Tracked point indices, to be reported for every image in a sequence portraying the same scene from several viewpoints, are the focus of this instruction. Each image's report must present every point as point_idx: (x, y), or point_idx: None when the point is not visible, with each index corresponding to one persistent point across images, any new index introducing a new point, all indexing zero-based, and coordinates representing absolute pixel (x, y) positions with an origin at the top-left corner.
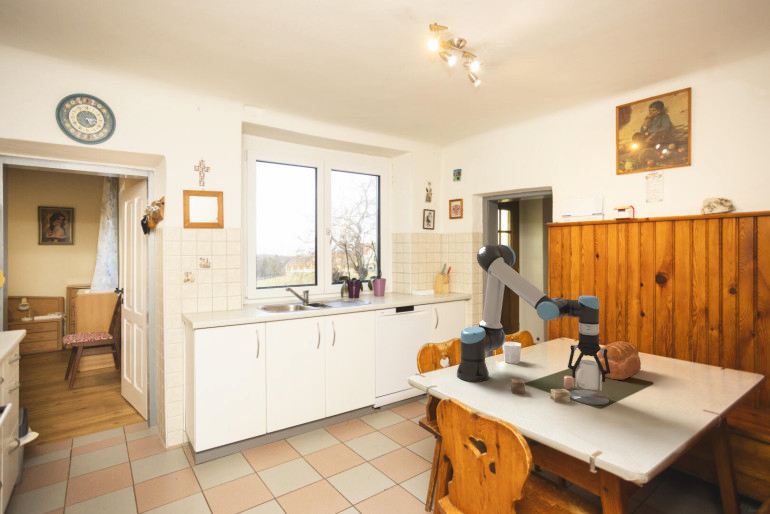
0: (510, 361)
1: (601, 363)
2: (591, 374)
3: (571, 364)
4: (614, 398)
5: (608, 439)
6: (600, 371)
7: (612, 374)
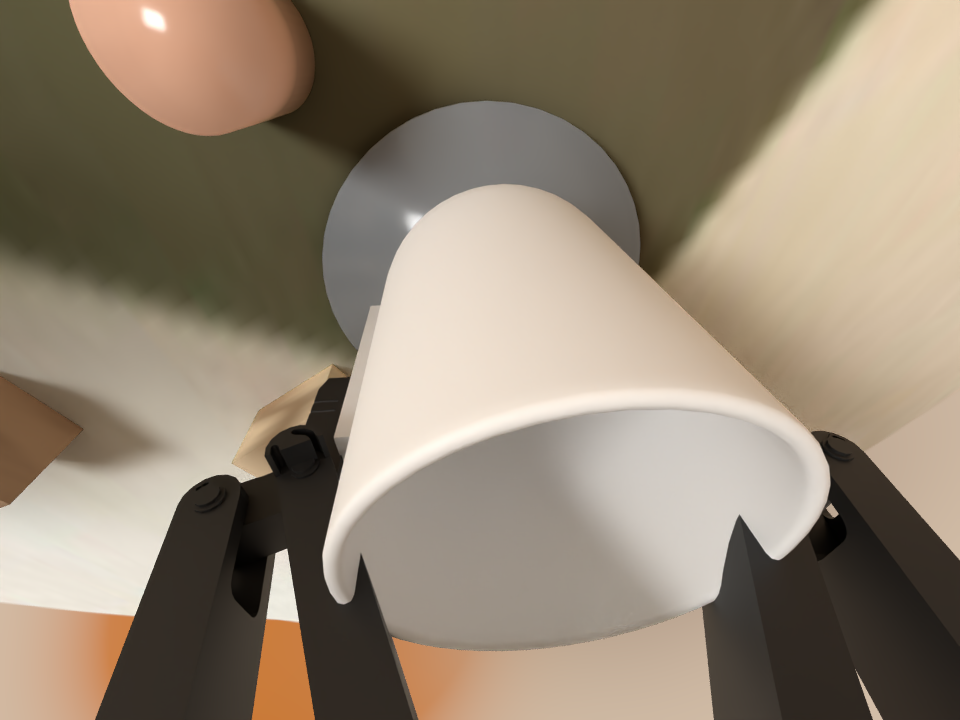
0: None
1: None
2: (554, 497)
3: (267, 602)
4: (699, 166)
5: None
6: None
7: None
